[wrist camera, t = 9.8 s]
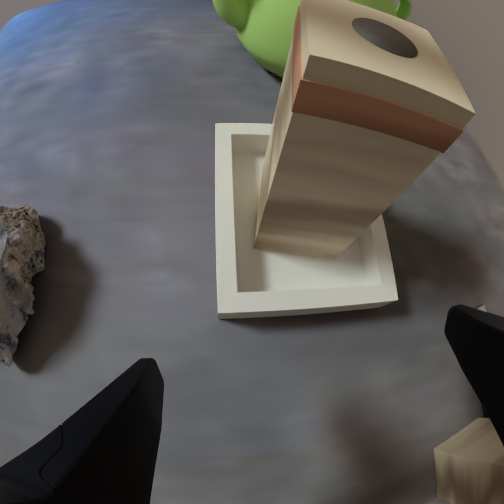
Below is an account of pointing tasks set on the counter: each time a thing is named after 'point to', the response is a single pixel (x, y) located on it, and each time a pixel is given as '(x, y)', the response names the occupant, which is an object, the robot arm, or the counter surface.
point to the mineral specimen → (17, 272)
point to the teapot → (280, 25)
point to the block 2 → (471, 465)
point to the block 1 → (352, 125)
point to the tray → (280, 263)
